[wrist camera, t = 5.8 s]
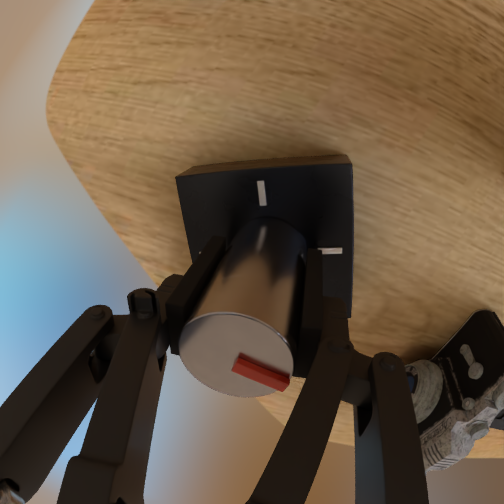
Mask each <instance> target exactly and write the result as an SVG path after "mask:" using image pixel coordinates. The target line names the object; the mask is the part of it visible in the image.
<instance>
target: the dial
mask: <svg viewBox="0 0 504 504" xmlns="http://www.w3.org/2000/svg"><path fill="white" fill-rule="evenodd" d="M305 261H306V248H305V244H304V241H303V239H302V237H301V235H300V234H299V233H298V231H297V230H296V229H295V228H294V227H292V226H291V225H290V224H288V223H286V222H285V221H282V220H280V219H276V218H269V217H264V218H257V219H254V220H251V221H249V222H247V223H246V224H244V225H243V226H242V227H241V228H240V229H239V230H238V232H237V233H236V235H235V236H234V238H233V240H232V242H231V243H230V245H229V247H228V249H227V250H226V252H225V254H224V256H223V257H222V259H221V261H220V263H219V264H218V266H217V268H216V270H215V271H214V273H213V275H212V277H211V278H210V280H209V282H208V284H207V285H206V287H205V289H204V291H203V293H202V294H201V296H200V298H199V300H198V301H197V303H196V305H195V307H194V309H193V310H192V312H191V314H190V316H189V318H188V319H187V321H186V323H185V325H184V327H183V328H182V330H181V332H180V335H179V338H178V351H179V355H180V358H181V360H182V362H183V364H184V365H185V367H186V368H187V370H188V371H189V372H190V373H191V374H192V375H193V376H194V377H195V378H196V379H197V380H199V381H200V382H201V383H203V384H204V385H206V386H208V387H210V388H211V389H213V390H216V391H218V392H221V393H224V394H227V395H232V396H237V397H259V396H264V395H268V394H271V393H273V392H275V391H277V390H278V391H281V392H283V391H284V390H285V389H286V388H287V387H288V385H289V383H290V378H291V377H292V375H293V373H294V369H295V364H296V355H297V346H298V337H299V327H300V318H301V307H302V297H303V285H304V274H305Z"/></svg>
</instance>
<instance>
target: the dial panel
mask: <svg viewBox="0 0 504 504" xmlns="http://www.w3.org/2000/svg"><path fill="white" fill-rule="evenodd" d="M175 179H176V184H177V189H178V195H179V200H180V205H181V210H182V215H183V220H184V225H185V230H186V235H187V240H188V244H189V249H190V254H191V258H192V263H193V262H194V261H195V259H196V258H197V257H198V255H199V254H200V252H201V251H202V250H203V248H204V247H205V245H206V244H207V243H208V241H209V240H210V239H211V237H212V236H213V235H215V236H222V237H226V250H227V249H228V247H229V245H230V243H231V242H232V240H233V238H234V236H235V235H236V233H237V232H238V230H239V229H240V228H241V227H242V226H243V225H244V224H246V223H247V222H249V221H251V220H254V219H257V218H264V217H269V218H276V219H280V220H282V221H285V222H286V223H288V224H290V225H291V226H292V227H294V228H295V229H296V230H297V231H298V233H299V234H300V235H301V237H302V239H303V241H304V244H305V248H306V259H307V252H308V248H312V249H320V250H322V263H323V296H329V297H337V298H342V300H343V301H344V303H345V304H346V308H347V318H351V309H352V289H353V256H354V201H353V169H352V163H351V161H350V160H349V158H348V156H347V155H325V156H304V157H288V158H273V159H260V160H249V161H238V162H228V163H219V164H210V165H201V166H193V167H191V168H190V169H188V170H186V171H184V172H183V173H181V174H179V175H178V176H176V177H175ZM305 265H306V261H305Z"/></svg>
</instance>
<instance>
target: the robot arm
mask: <svg viewBox="0 0 504 504" xmlns="http://www.w3.org/2000/svg"><path fill="white" fill-rule="evenodd" d="M225 252H226V237H222V236H215V235H213V236H212V237H211V239H210V240H209V241H208V243H207V244H206V245H205V247H204V248H203V250H202V251H201V252H200V254H199V255H198V257H197V258H196V259H195V261H194V262H193V264H192V265H191V267H190V268H189V269H188V271H187V272H186V274H185V275H184V276H183V275H177V274H172V275H171V276H169V277H167V278H166V279H165V280H164V281H163V282H162V284H161V286H159V288H158V289H157V291H154V290H152V289H148V288H140V289H136V290H134V291H132V292H131V293H129V294H128V296H127V299H128V305H129V311H130V314H129V315H113V314H112V310H111V309H110V307H107V306H106V305H95V306H92V307H90V308H88V309H87V310H85V312H84V313H83V314H82V315H81V316H80V317H79V318H78V319H77V320H76V321H75V322H74V323H73V324H72V325H71V326H70V328H69V329H68V330H67V331H66V332H65V333H64V334H63V335H62V336H61V337H60V338H59V339H58V340H57V342H56V343H55V344H54V345H53V346H52V347H51V348H50V349H49V350H48V352H47V353H46V354H45V355H44V356H43V357H42V358H41V360H40V361H39V362H38V363H37V364H36V365H35V366H34V367H33V369H32V370H31V371H30V372H29V373H28V374H27V376H26V377H25V378H24V379H23V380H22V381H21V383H20V384H19V385H18V386H17V387H16V389H15V390H14V391H13V392H12V393H11V395H10V396H9V397H8V398H7V399H6V401H5V402H4V403H3V404H2V406H1V407H0V504H25V503H26V502H28V501H29V500H30V499H31V498H32V496H33V495H34V494H35V493H36V492H37V491H38V490H39V488H40V487H41V485H42V484H43V482H44V481H45V479H46V477H47V476H48V474H49V473H50V471H51V469H52V468H53V466H54V464H55V463H56V461H57V459H58V458H59V456H60V455H61V453H62V452H63V450H64V448H65V447H66V445H67V443H68V442H69V441H70V439H71V437H72V436H73V434H74V433H75V431H76V430H77V428H78V427H79V425H80V424H81V422H82V420H83V419H84V417H85V416H86V414H87V413H88V411H89V410H90V408H91V407H92V405H93V404H94V402H95V401H96V399H97V398H98V399H97V402H96V405H95V408H94V411H93V414H92V417H91V420H90V423H89V426H88V429H87V433H86V436H85V439H84V442H83V446H82V449H81V452H80V454H79V455H78V456H73V457H72V458H71V459H70V460H69V462H68V464H67V467H66V471H65V474H64V478H63V481H62V485H61V489H60V493H59V496H58V500H57V504H144V499H143V493H144V485H145V478H146V472H147V465H148V459H149V452H150V446H151V440H152V434H153V429H154V423H155V417H156V412H157V406H158V401H159V396H160V391H161V386H162V381H163V375H164V371H165V366H166V361H167V356H166V351H167V349H168V347H169V345H170V348H171V354H175V355H179V351H178V338H179V335H180V332H181V330H182V328H183V327H184V325H185V323H186V321H187V319H188V318H189V316H190V314H191V312H192V310H193V309H194V307H195V305H196V303H197V301H198V300H199V298H200V296H201V294H202V293H203V291H204V289H205V287H206V285H207V284H208V282H209V280H210V278H211V277H212V275H213V273H214V271H215V270H216V268H217V266H218V264H219V263H220V261H221V259H222V257H223V256H224V254H225ZM92 351H93V352H92ZM179 356H180V355H179ZM292 376H294V377H301V378H306V380H305V383H304V385H303V387H302V390H301V392H300V395H299V397H298V399H297V402H296V404H295V406H294V408H293V411H292V413H291V415H290V417H289V420H288V422H287V424H286V426H285V429H284V431H283V433H282V435H281V437H280V439H279V441H278V443H277V446H276V448H275V450H274V452H273V454H272V456H271V458H270V460H269V462H268V464H267V466H266V468H265V470H264V472H263V474H262V476H261V478H260V480H259V482H258V484H257V486H256V488H255V489H254V491H253V493H252V495H251V497H250V498H249V500H248V501H247V502H246V503H245V504H304V503H305V501H306V498H307V496H308V493H309V491H310V488H311V486H312V483H313V481H314V478H315V475H316V473H317V470H318V467H319V465H320V462H321V459H322V456H323V453H324V450H325V448H326V445H327V442H328V439H329V436H330V433H331V430H332V426H333V423H334V420H335V417H336V414H337V410H338V407H339V404H340V400H342V401H345V402H348V403H350V404H353V411H354V433H355V504H429V500H428V491H427V483H426V475H425V468H424V461H423V454H422V448H421V442H420V436H419V431H418V425H417V420H416V415H415V410H414V405H413V400H412V396H411V391H410V387H409V382H408V378H407V374H406V370H405V366H404V363H403V361H402V360H401V359H400V358H399V357H398V356H397V355H395V354H393V353H389V352H380V353H378V354H375V356H374V357H373V358H371V357H369V356H366V355H363V354H361V353H359V352H357V351H356V350H355V349H354V346H353V344H352V343H351V341H350V340H349V329H348V320H347V308H346V304H345V303H344V301H343V300H342V298H337V297H329V296H323V263H322V250H320V249H312V248H308V252H307V259H306V265H305V274H304V285H303V297H302V307H301V318H300V327H299V337H298V346H297V355H296V364H295V369H294V373H293V375H292Z"/></svg>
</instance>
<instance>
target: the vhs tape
mask: <svg viewBox="0 0 504 504" xmlns="http://www.w3.org/2000/svg"><path fill="white" fill-rule="evenodd" d="M489 427H490V428H495V429H499V430H504V409H502V410H501V411H500V412H499V413H498V414H497V415H496V417H495V418H494V420H493V422H492V423H491V425H490V426H489Z"/></svg>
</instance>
